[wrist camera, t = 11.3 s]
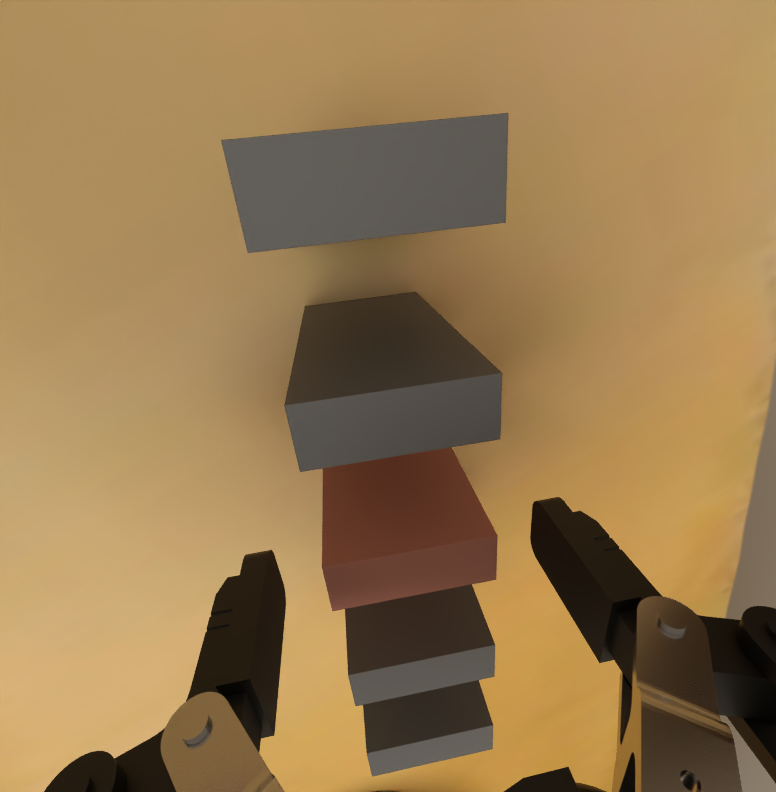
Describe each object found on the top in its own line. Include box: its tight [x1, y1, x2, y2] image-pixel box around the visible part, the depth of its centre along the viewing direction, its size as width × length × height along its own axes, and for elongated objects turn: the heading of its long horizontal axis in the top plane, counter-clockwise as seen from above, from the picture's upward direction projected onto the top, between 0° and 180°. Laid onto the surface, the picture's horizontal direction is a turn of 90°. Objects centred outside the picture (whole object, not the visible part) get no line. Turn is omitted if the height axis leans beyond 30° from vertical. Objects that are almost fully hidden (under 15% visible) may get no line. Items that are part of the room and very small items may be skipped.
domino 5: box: [363, 680, 493, 776], centre depth 21 cm, size 2×5×10 cm, turn 96°
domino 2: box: [284, 292, 502, 472], centre depth 14 cm, size 2×5×10 cm, turn 95°
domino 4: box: [345, 584, 495, 706], centre depth 18 cm, size 2×5×10 cm, turn 95°
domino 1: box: [221, 113, 508, 253], centre depth 12 cm, size 2×5×10 cm, turn 96°
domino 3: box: [322, 447, 497, 611], centre depth 16 cm, size 2×5×10 cm, turn 95°
